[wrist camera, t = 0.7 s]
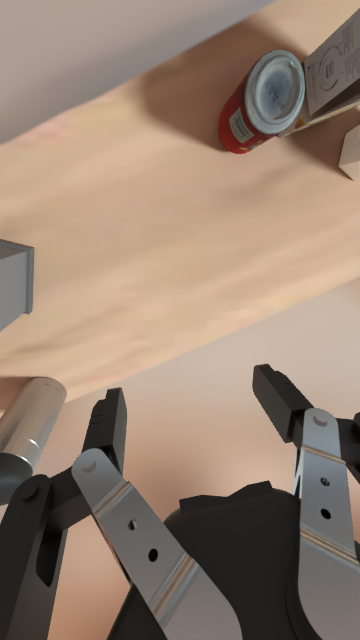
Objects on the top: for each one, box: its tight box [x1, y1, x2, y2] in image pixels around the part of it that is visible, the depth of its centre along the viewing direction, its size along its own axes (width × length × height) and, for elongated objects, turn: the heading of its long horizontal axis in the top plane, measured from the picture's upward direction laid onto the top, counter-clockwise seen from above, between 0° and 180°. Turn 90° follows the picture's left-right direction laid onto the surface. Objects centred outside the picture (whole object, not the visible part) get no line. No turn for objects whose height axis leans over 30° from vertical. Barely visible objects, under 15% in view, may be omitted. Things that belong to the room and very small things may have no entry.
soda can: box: [219, 49, 305, 154], centre depth 29 cm, size 7×7×12 cm
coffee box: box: [278, 9, 360, 138], centre depth 27 cm, size 9×6×16 cm
